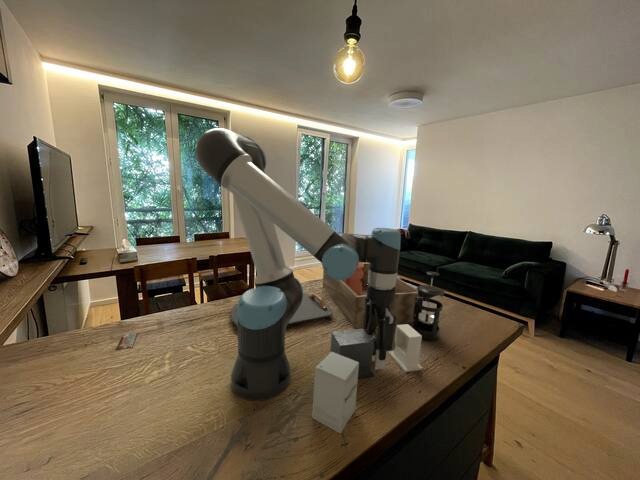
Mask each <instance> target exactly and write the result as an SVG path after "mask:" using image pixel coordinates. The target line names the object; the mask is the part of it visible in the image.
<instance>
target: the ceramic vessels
mask: <svg viewBox="0 0 640 480" xmlns="http://www.w3.org/2000/svg"><path fill="white" fill-rule="evenodd" d="M363 266H364V265H363V263H362V262H359V264H358V266H357V269H356V270H355V272H354V273H353V275H352V276H350V277H349V278H347V279H345V280H344V282H345V283H346V284H347V285H348V286H349V287H350V288H351V289H352V290H353V291H354V292H355V293H356V294H357V295H358V296H359V295H360V294H361V293H362V291H363V287H364V286H362V283H361V281H360V279H362V277H363V275H364V273H363V270H362V268H363Z"/></svg>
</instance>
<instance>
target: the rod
mask: <svg viewBox="0 0 640 480" xmlns="http://www.w3.org/2000/svg"><path fill="white" fill-rule="evenodd" d="M374 335H375V336H370V338H371V339H372V340H373V342H374V343H373V353H372V355H375V354H376V347H378V334H374ZM394 350H395V338H393V344H392V350H390V351H389V352H391V351H394ZM387 352H388V351H386V353H387Z"/></svg>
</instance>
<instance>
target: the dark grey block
mask: <svg viewBox="0 0 640 480" xmlns="http://www.w3.org/2000/svg"><path fill="white" fill-rule="evenodd" d="M330 339H331V340H330V352H334V353H336V354H339V355H341V356H344V357H347V358H349V359H352V360H354V361H357V362H359V370H358V380H363V379H370V378H375V376H376V375H375V373H374V371H373V370H372V363H373V356H372V353H373V343H374V342H373V340H372V339H371V338H370V337H369V336H368V334H367V333H366V330H365V329H364V328H353V329H344V330H334V331H331V338H330Z"/></svg>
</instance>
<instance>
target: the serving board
mask: <svg viewBox="0 0 640 480" xmlns="http://www.w3.org/2000/svg"><path fill="white" fill-rule="evenodd" d="M237 309H238V303H237V304H236V303H235V304H234V305H233V306H232V308H231V310H230V312H229V313H230V314H229V315H230V316H229V317H230V319H231V322H232V323H233V324H234V325H235V326H236V327H237V328H238V320H237ZM332 316H333V310H332V308H331V306H330V305H329V304H328V303H327V302H326V301H325V300H324V299H323V298H322V297H321V295H318V293H312V294H310V293H303V299H302V302H301V305H300V307H299V309H298V310H297V311H296V312H295V314H294V315H293V317H292V318H291V320H290V321H289V323H288V324H287V326H289V325H293V324H298V323H301V322H302V323H304V322H308V321H312V320H317V319H322V318H323V319H324V318H325V319H326V320H330V319H331V317H332Z"/></svg>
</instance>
